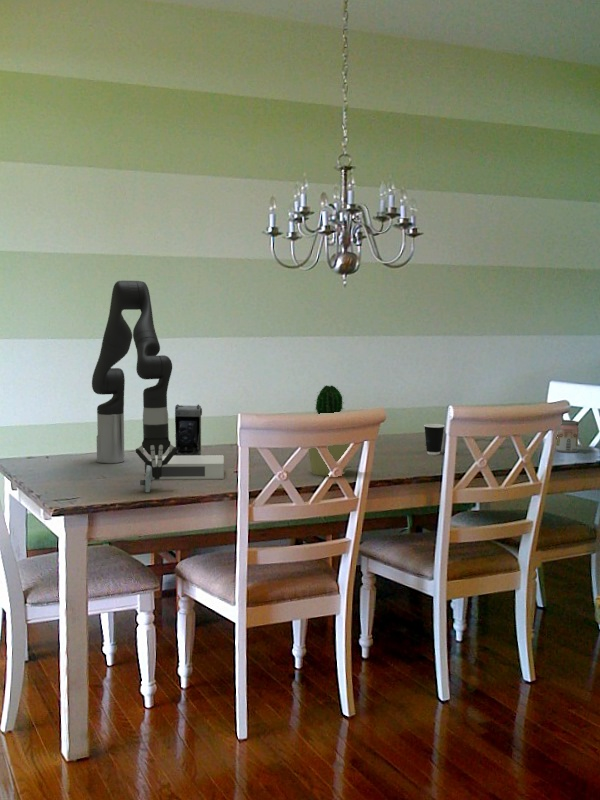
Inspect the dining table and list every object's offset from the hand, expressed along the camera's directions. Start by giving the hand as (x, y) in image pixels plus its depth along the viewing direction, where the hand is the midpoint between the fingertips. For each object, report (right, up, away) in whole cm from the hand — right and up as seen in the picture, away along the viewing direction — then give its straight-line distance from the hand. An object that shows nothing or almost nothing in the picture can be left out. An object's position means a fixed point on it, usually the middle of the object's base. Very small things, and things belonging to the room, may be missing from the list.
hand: (157, 478), depth 263 cm
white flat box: (+6, -1, +24) cm, 24 cm away
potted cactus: (+53, -1, +29) cm, 60 cm away
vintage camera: (+3, +2, +49) cm, 49 cm away
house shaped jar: (+148, +4, +78) cm, 167 cm away
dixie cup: (+94, +3, +69) cm, 117 cm away
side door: (-4, -2, +4) cm, 6 cm away
